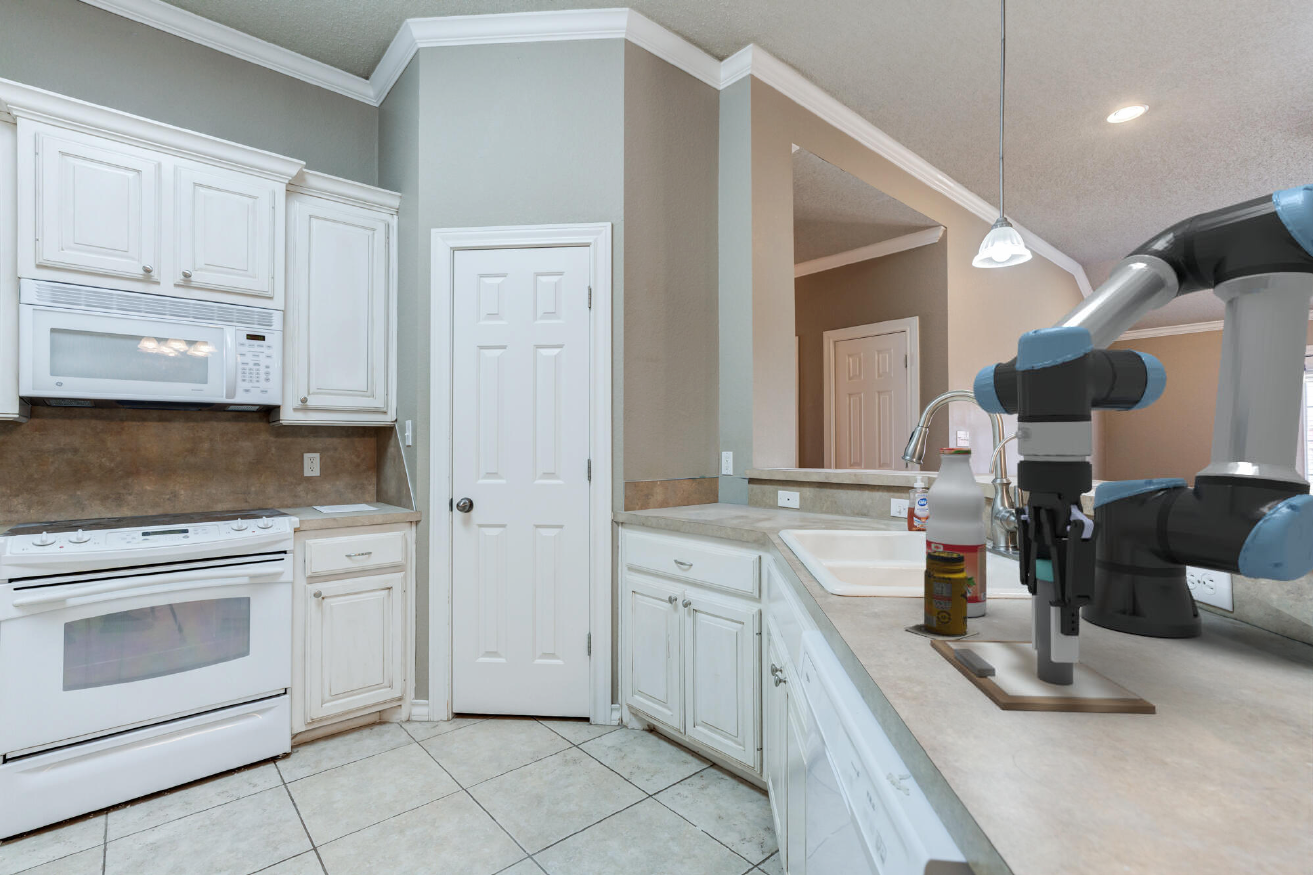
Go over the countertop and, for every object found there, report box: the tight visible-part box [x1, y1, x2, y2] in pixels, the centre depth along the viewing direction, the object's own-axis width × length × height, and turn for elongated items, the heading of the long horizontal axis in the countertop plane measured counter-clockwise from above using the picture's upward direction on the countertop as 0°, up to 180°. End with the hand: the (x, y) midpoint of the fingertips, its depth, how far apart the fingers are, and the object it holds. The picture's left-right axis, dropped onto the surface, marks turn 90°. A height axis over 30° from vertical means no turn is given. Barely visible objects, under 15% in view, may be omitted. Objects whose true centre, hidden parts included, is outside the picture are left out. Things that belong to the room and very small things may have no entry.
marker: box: [1036, 559, 1073, 686], centre depth 74 cm, size 4×4×14 cm
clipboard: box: [930, 639, 1157, 715], centre depth 78 cm, size 16×21×2 cm
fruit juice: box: [925, 447, 987, 618], centre depth 106 cm, size 9×9×28 cm
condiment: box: [903, 551, 980, 640], centre depth 95 cm, size 7×8×12 cm
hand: (1054, 654), depth 74 cm, fingers closed on marker, 3 cm apart
